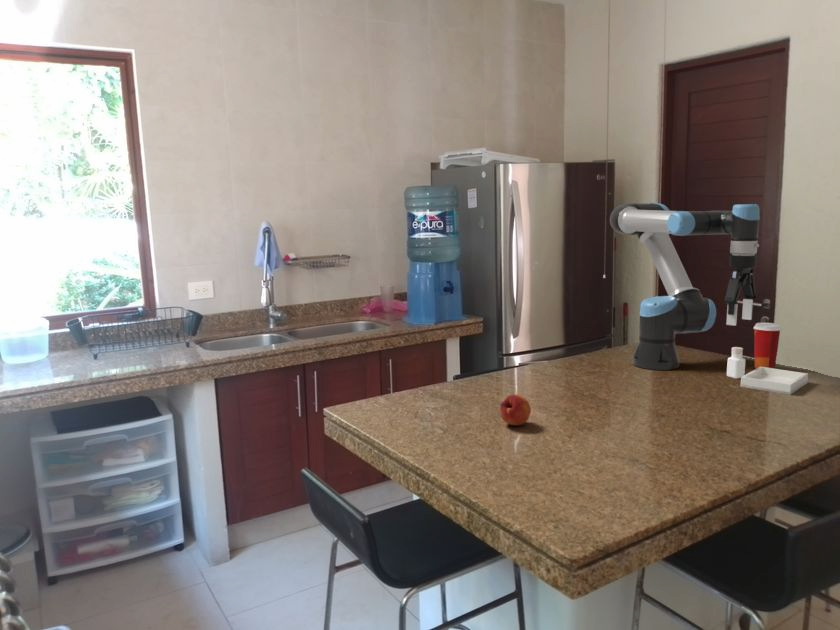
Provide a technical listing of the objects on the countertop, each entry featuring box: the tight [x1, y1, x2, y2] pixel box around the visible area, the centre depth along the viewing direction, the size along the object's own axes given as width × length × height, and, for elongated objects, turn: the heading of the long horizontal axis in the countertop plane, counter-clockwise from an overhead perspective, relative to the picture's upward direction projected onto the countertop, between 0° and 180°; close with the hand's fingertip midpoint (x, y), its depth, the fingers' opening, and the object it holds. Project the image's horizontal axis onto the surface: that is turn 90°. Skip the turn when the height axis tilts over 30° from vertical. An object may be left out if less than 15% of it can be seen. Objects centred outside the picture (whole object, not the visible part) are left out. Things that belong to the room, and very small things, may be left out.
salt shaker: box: [726, 346, 746, 380], centre depth 211 cm, size 4×4×10 cm
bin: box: [740, 367, 809, 396], centre depth 202 cm, size 14×18×3 cm
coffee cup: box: [753, 322, 782, 369], centre depth 222 cm, size 8×8×15 cm
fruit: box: [499, 394, 532, 426], centre depth 168 cm, size 8×8×8 cm
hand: (739, 322), depth 209 cm, fingers open, 13 cm apart
